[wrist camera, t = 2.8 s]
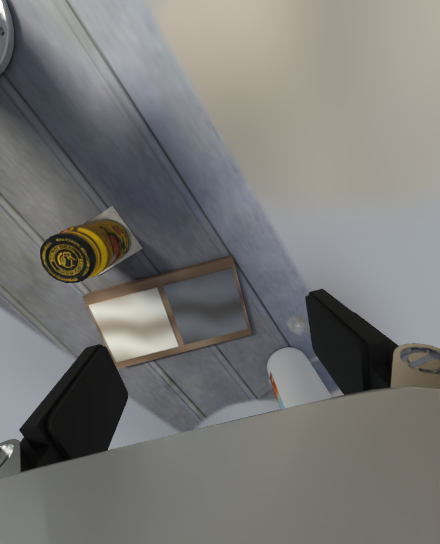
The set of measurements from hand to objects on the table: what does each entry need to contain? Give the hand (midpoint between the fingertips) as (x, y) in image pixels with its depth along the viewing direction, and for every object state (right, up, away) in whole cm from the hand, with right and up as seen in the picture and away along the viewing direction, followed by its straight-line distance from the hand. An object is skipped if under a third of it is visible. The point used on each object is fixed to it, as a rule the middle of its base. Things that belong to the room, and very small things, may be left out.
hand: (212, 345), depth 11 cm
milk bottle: (+13, -14, +33) cm, 38 cm away
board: (-8, -4, +28) cm, 30 cm away
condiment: (-17, +8, +25) cm, 31 cm away
